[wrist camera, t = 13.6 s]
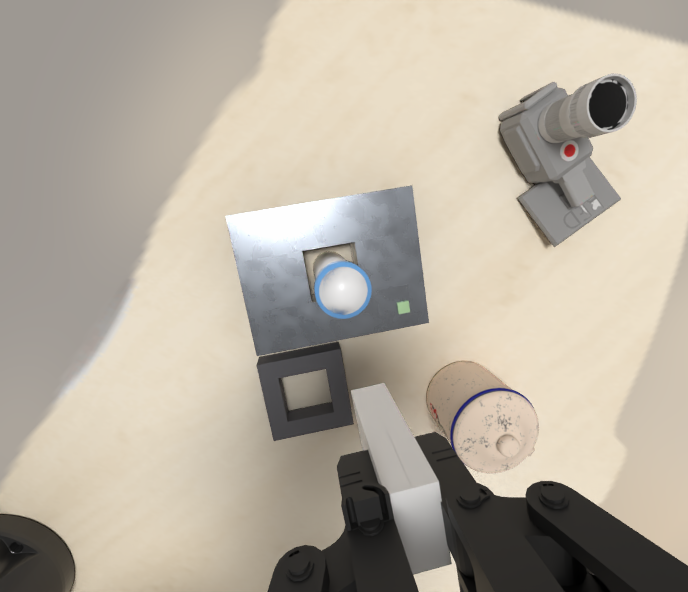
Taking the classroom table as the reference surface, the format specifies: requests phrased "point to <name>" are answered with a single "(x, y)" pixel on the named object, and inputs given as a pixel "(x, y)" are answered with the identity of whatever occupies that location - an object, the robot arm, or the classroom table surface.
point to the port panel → (322, 231)
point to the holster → (313, 416)
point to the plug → (340, 286)
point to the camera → (566, 150)
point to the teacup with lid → (482, 417)
